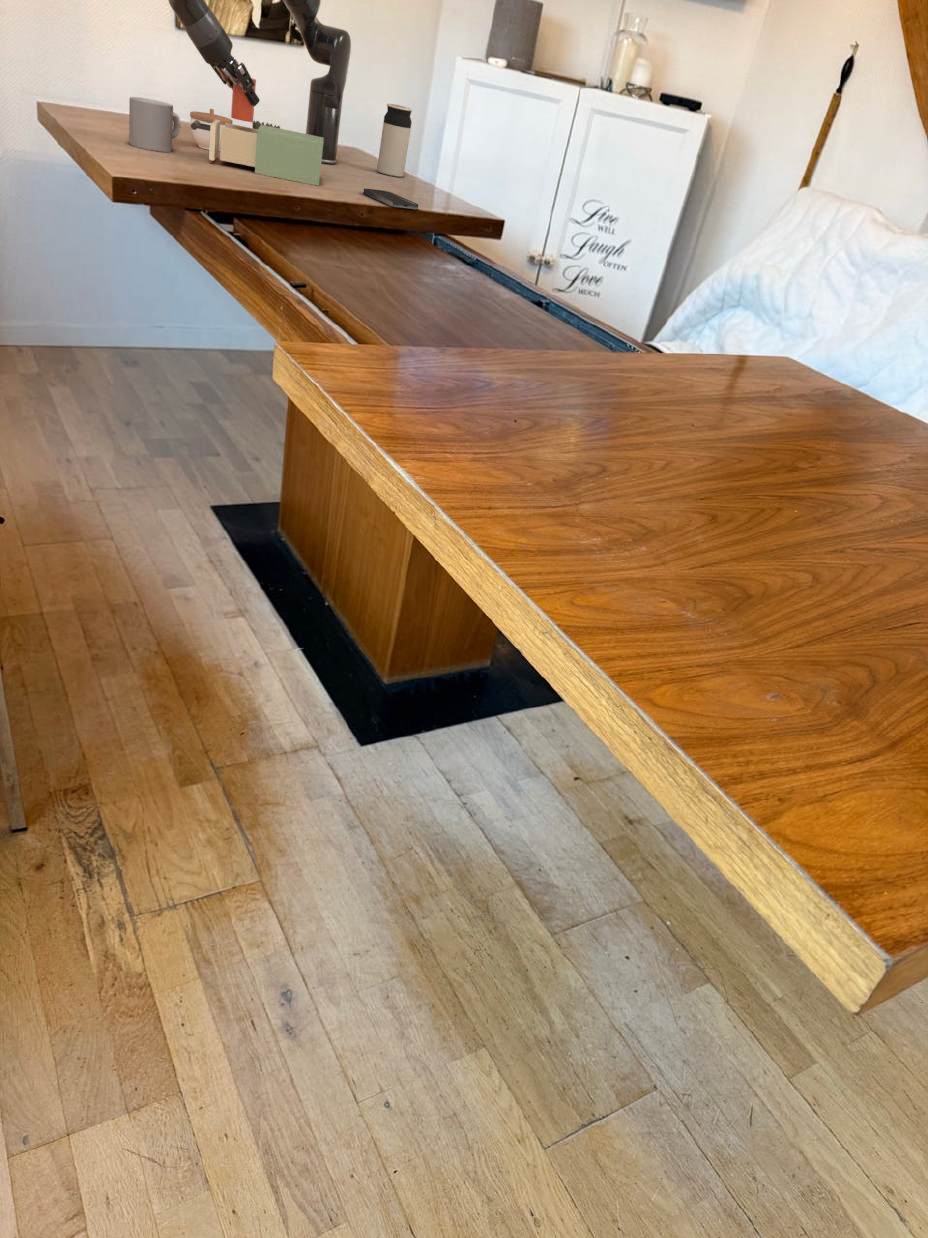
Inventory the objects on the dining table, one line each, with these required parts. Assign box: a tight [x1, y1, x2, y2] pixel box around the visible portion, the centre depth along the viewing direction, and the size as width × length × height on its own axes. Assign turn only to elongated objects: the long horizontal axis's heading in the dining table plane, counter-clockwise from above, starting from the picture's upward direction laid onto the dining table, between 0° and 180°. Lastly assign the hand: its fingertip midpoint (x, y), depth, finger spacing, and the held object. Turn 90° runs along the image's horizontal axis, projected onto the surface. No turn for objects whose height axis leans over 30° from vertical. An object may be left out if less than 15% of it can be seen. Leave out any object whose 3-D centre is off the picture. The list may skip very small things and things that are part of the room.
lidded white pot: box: [189, 108, 233, 152], centre depth 241 cm, size 11×11×9 cm
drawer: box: [190, 120, 258, 168], centre depth 225 cm, size 19×11×8 cm, turn 97°
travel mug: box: [376, 103, 413, 178], centre depth 267 cm, size 8×8×18 cm
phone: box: [362, 188, 419, 211], centre depth 227 cm, size 8×1×15 cm
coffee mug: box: [128, 96, 181, 153], centre depth 224 cm, size 13×10×10 cm
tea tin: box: [230, 77, 257, 123], centre depth 220 cm, size 5×5×9 cm
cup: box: [251, 120, 281, 129], centre depth 250 cm, size 8×7×8 cm
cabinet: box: [254, 124, 324, 187], centre depth 228 cm, size 16×13×10 cm
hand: (250, 100), depth 221 cm, fingers closed on tea tin, 5 cm apart
